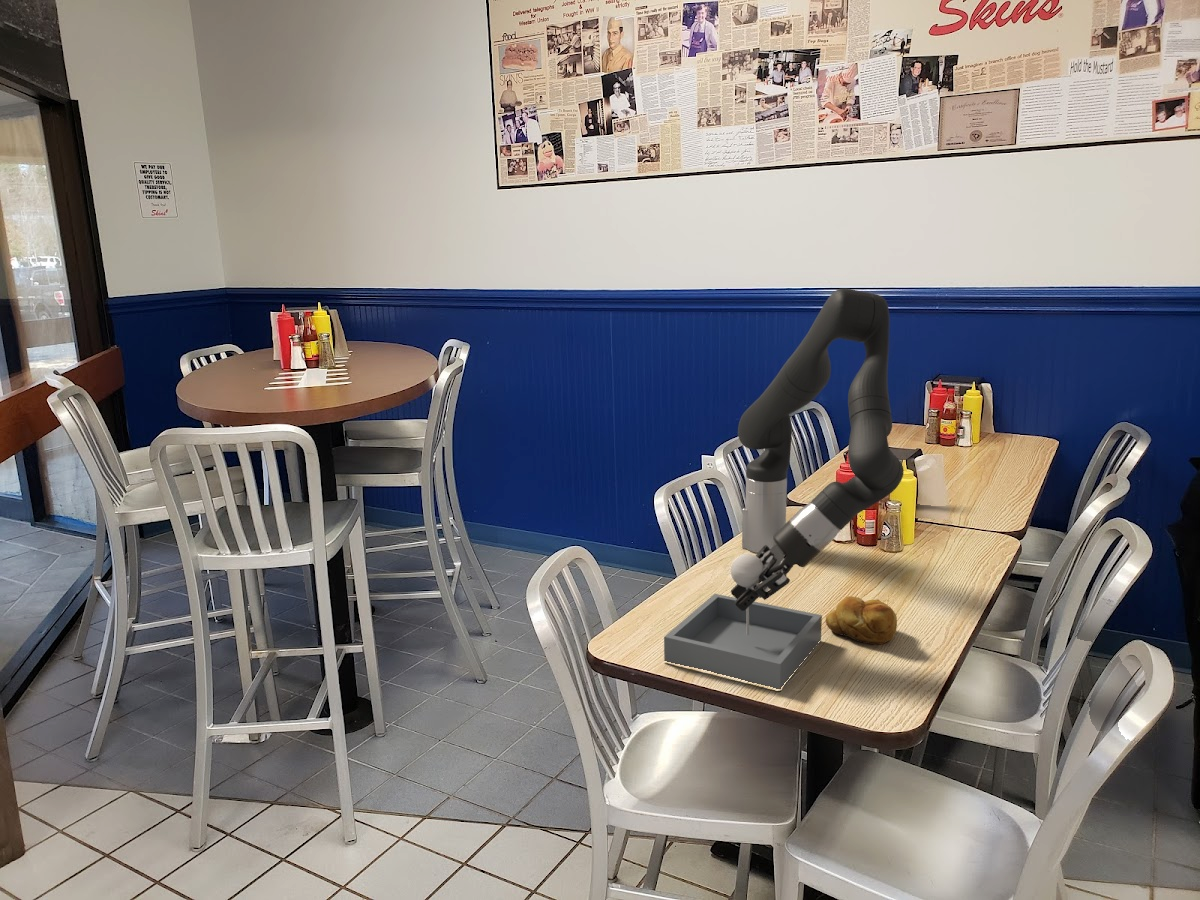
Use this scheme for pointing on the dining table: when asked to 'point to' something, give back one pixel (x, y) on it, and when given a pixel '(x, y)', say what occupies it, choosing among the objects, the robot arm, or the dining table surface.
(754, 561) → the lollipop
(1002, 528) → the dining table surface
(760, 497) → the robot arm
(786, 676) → the tray
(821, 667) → the dining table surface
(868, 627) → the bread roll
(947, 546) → the dining table surface
